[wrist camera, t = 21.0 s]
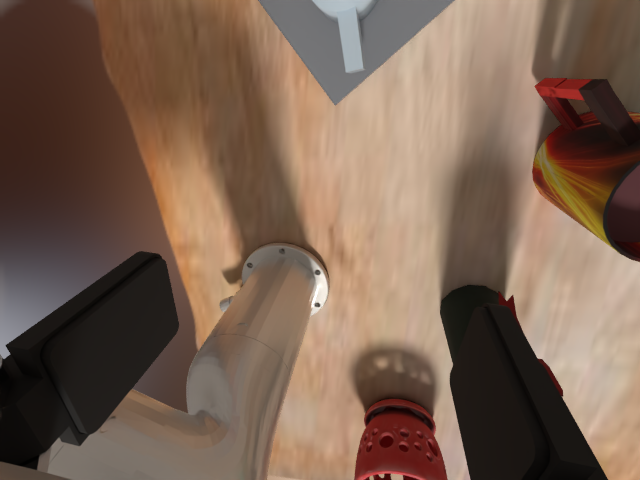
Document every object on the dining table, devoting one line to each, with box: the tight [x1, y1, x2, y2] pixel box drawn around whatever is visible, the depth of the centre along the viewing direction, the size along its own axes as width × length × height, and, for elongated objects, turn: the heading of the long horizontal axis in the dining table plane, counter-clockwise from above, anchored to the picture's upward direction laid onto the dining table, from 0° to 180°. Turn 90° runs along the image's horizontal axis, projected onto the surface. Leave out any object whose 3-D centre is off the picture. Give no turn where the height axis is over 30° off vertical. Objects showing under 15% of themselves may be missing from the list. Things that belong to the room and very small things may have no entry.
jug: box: [312, 0, 378, 73], centre depth 25 cm, size 10×6×7 cm, turn 12°
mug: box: [532, 78, 640, 262], centre depth 26 cm, size 10×14×12 cm
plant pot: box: [354, 399, 447, 480], centre depth 49 cm, size 13×13×12 cm
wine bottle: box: [440, 285, 563, 396], centre depth 28 cm, size 8×10×30 cm
